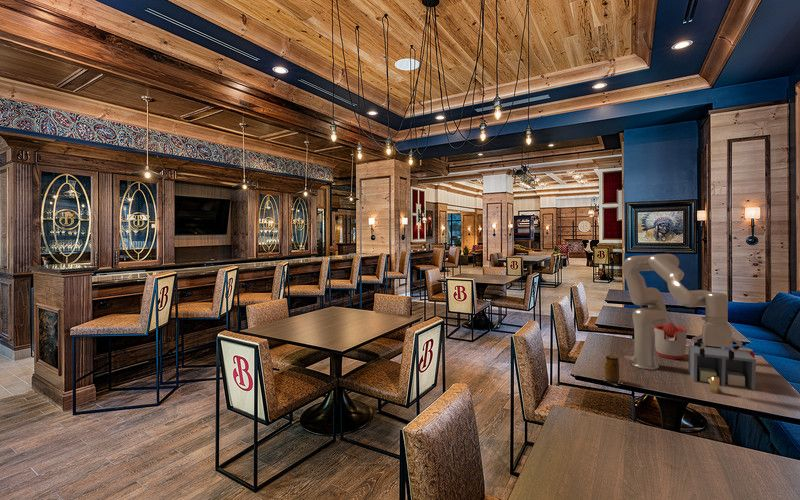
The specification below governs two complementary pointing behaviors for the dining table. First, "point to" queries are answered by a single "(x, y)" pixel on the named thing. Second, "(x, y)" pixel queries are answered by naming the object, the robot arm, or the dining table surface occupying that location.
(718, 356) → the cubby shelf
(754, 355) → the soda can
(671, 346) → the citrus juicer
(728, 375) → the grey block
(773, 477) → the dining table surface
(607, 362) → the condiment
